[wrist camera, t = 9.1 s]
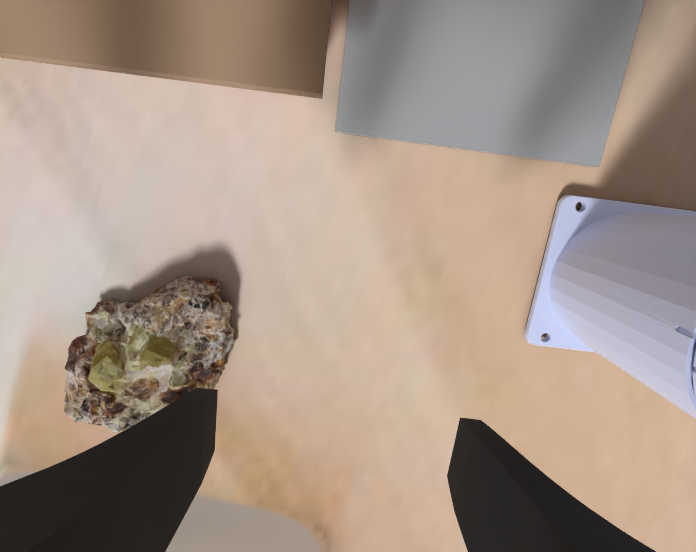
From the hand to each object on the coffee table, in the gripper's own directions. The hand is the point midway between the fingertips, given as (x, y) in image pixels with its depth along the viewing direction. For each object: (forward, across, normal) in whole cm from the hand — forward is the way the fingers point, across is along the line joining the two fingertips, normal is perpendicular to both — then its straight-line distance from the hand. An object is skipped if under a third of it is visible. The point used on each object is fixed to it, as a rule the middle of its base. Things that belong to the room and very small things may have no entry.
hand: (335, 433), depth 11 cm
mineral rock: (+10, +10, +3) cm, 15 cm away
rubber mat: (+10, -5, -16) cm, 19 cm away
